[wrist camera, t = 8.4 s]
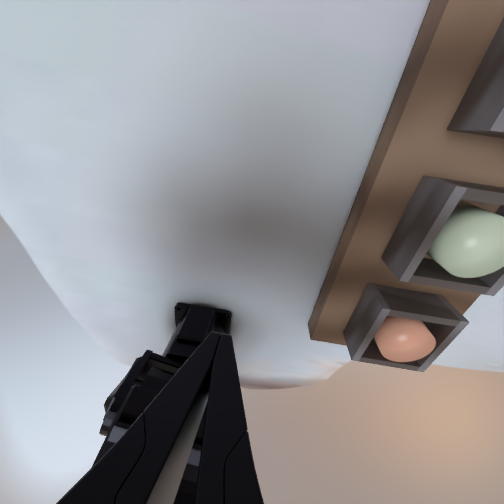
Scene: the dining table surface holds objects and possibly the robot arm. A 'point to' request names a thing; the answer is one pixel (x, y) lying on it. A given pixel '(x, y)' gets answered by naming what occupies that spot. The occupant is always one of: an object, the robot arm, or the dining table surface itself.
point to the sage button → (470, 242)
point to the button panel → (423, 188)
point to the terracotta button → (404, 339)
